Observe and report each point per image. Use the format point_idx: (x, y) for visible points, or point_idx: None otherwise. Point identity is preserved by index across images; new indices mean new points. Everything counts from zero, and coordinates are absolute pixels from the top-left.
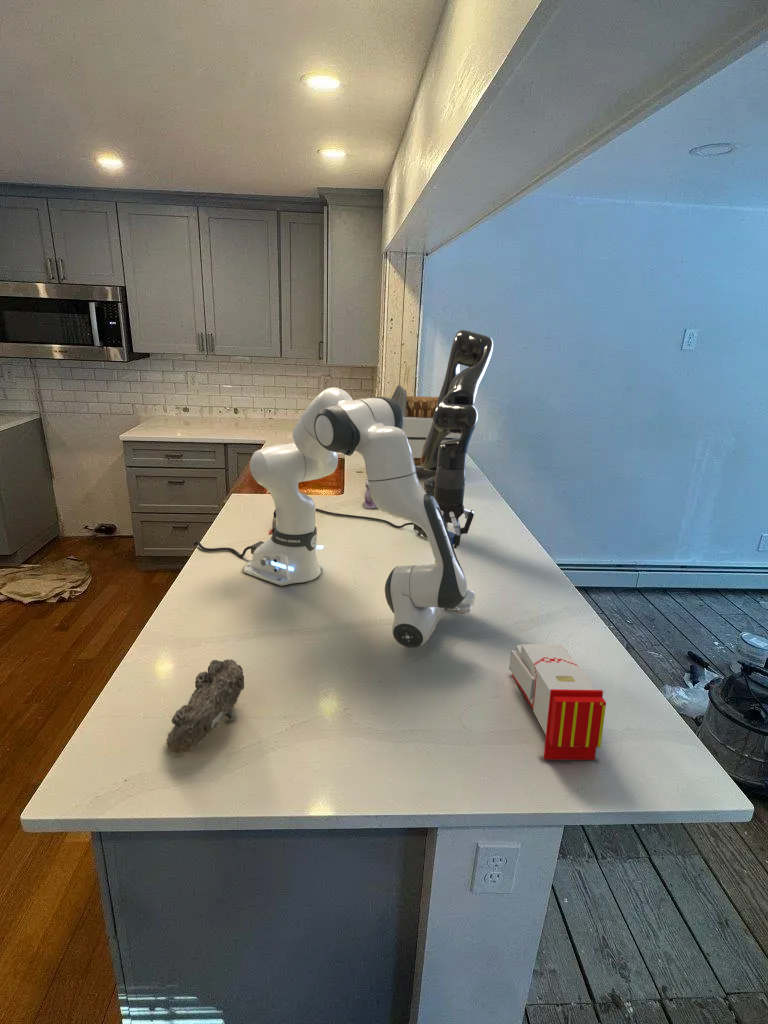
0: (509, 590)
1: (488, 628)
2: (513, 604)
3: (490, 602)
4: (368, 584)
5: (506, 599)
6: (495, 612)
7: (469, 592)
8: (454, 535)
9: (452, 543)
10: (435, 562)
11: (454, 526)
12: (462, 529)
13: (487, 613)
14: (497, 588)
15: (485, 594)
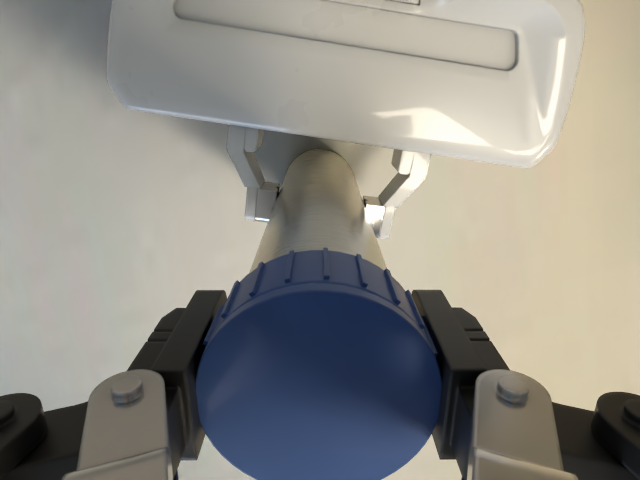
0: (73, 360)
1: (83, 25)
2: (34, 260)
3: (122, 251)
4: (627, 258)
5: (68, 291)
6: (86, 176)
7: (134, 72)
8: (204, 395)
9: (228, 297)
10: (371, 227)
11: (142, 462)
12: (41, 459)
13: (115, 158)
14: (119, 363)
15: (153, 307)
